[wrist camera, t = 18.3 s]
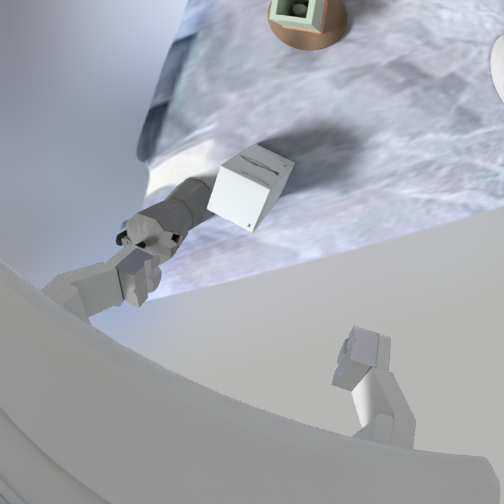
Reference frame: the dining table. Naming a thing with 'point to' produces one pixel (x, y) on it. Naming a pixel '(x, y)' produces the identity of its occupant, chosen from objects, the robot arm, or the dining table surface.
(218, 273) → the dining table surface
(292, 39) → the pin base
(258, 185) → the supplement box
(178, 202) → the coffeepot
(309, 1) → the sleeve
